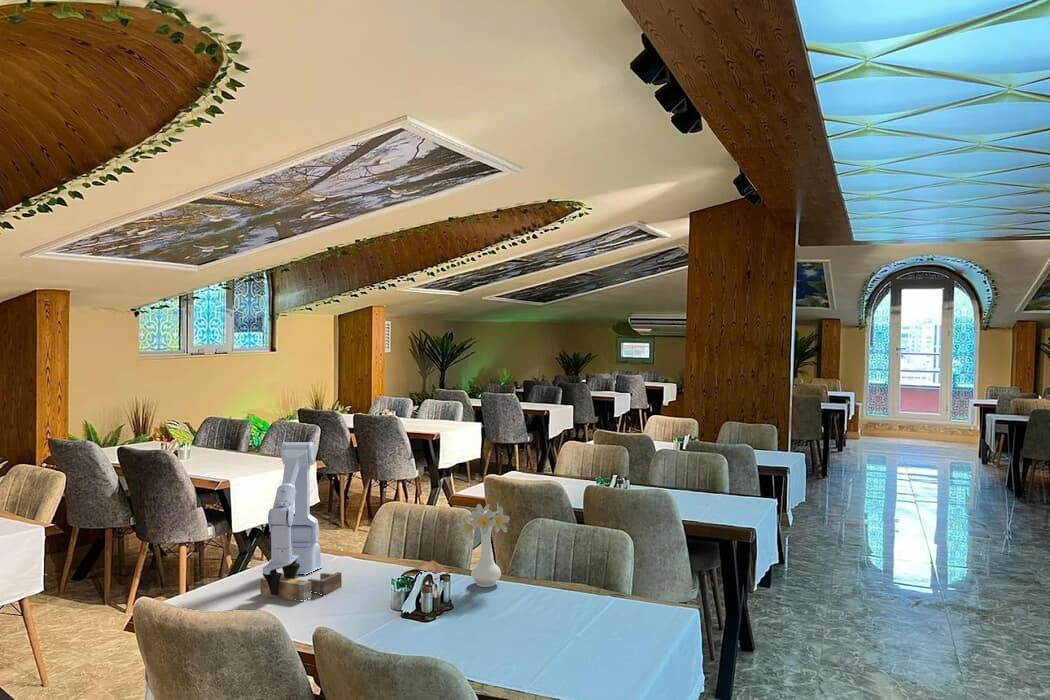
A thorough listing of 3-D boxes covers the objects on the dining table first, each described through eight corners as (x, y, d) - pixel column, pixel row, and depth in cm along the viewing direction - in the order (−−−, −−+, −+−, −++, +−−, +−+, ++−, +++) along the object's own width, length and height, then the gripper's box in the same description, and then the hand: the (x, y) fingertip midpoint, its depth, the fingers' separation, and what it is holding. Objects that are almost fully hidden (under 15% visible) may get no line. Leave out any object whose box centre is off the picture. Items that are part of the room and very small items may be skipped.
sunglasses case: (421, 587, 252) (412, 567, 254) (405, 595, 255) (397, 576, 256) (453, 571, 268) (444, 553, 269) (438, 579, 271) (429, 561, 272)
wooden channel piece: (306, 593, 247) (306, 578, 247) (324, 584, 255) (324, 570, 255) (324, 596, 244) (323, 581, 244) (341, 587, 253) (341, 572, 253)
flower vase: (452, 590, 250) (451, 509, 249) (484, 573, 266) (484, 498, 265) (487, 597, 243) (487, 514, 242) (518, 580, 259) (518, 502, 258)
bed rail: (260, 595, 246) (260, 578, 245) (268, 591, 249) (268, 575, 249) (304, 601, 240) (303, 585, 239) (311, 598, 243) (311, 581, 243)
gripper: (286, 539, 252) (286, 582, 253) (254, 551, 239) (254, 597, 240) (304, 541, 250) (305, 585, 250) (273, 554, 236) (274, 600, 237)
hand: (281, 591), depth 245 cm, fingers open, 6 cm apart
